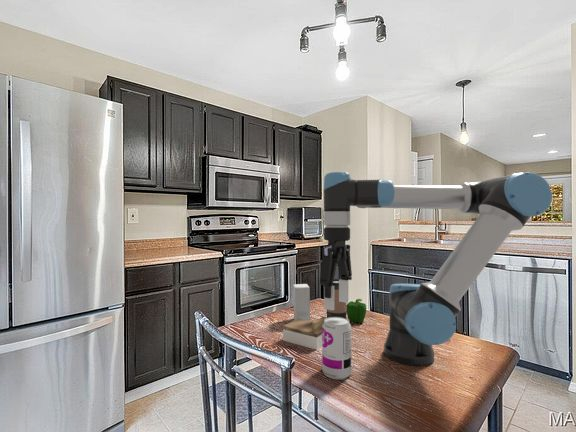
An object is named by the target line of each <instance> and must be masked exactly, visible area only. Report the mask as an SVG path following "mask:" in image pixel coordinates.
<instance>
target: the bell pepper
mask: <svg viewBox="0 0 576 432" xmlns="http://www.w3.org/2000/svg"><path fill="white" fill-rule="evenodd" d="M362 301H363V299H362V298H356V299H355V301H348V303H346V305H347V312H346V317H347V320H349V323H363V322H364V320H365V318H366V314H367V305H366V303H362Z"/></svg>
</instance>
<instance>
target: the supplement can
mask: <svg viewBox="0 0 576 432" xmlns="http://www.w3.org/2000/svg"><path fill="white" fill-rule="evenodd" d="M350 323H351V322H350V321H349V319H348V318H346V319H345V318H341V317H329V318H327V317H326V319H325V321H324V323H323V325H322V347H321V350H322V351H321V357H322V358H321V360H322V362H321V363H322V364H321V369H322V373H323V374H324V376H325V377H327V378H329V379H332V380H345V379H347V378H348V377H349V376H351V374H352V325H351V324H350Z"/></svg>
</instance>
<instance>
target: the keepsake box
mask: <svg viewBox="0 0 576 432" xmlns="http://www.w3.org/2000/svg"><path fill="white" fill-rule="evenodd" d="M282 341H283V342H288V343H291V344H294V345H298V346H301V347H306V348H309V349H312V350H319V349H320V348H322V334H320V335H319V336H312V335H309V334H304V333H300V332H296V331H293V330H289V329H285V328H283V329H282Z"/></svg>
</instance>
